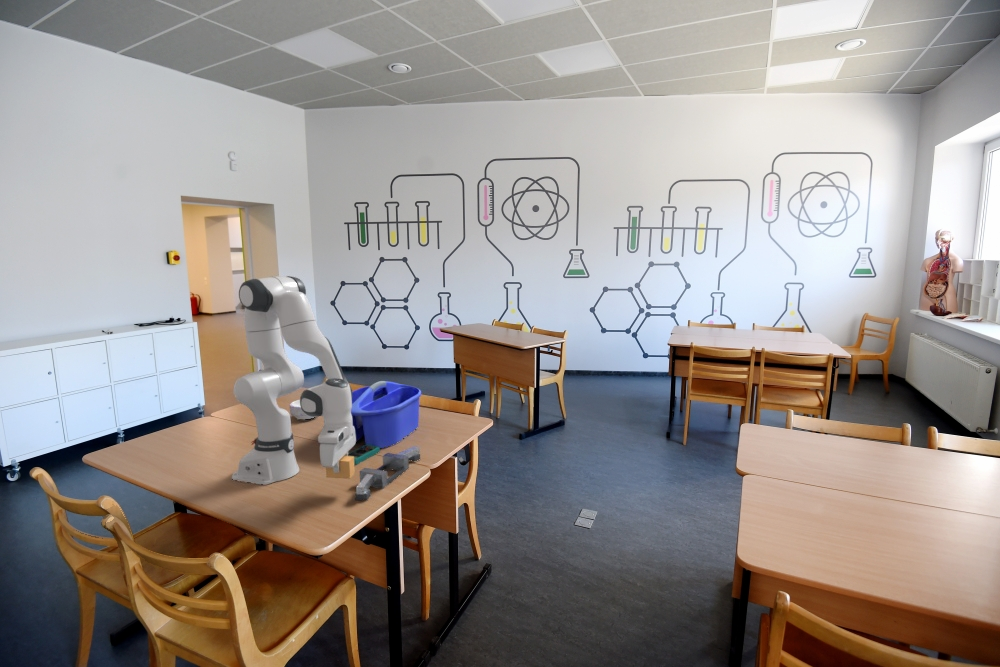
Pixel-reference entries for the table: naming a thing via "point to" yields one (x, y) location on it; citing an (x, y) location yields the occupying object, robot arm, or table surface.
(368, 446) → the digital multimeter
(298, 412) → the paper bowls
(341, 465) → the light orange rectangular block
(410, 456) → the grey long piece
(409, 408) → the caddy
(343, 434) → the robot arm
